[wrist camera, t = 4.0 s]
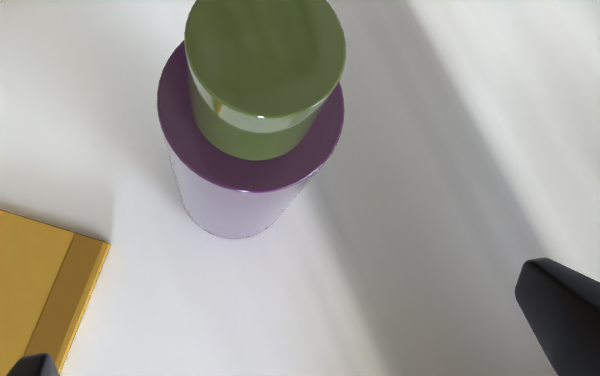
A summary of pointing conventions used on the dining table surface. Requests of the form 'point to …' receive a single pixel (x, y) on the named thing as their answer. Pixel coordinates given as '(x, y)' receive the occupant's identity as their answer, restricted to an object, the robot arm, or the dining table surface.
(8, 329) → the mustard yellow board
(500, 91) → the dining table surface
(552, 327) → the robot arm
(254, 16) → the pepper mill
